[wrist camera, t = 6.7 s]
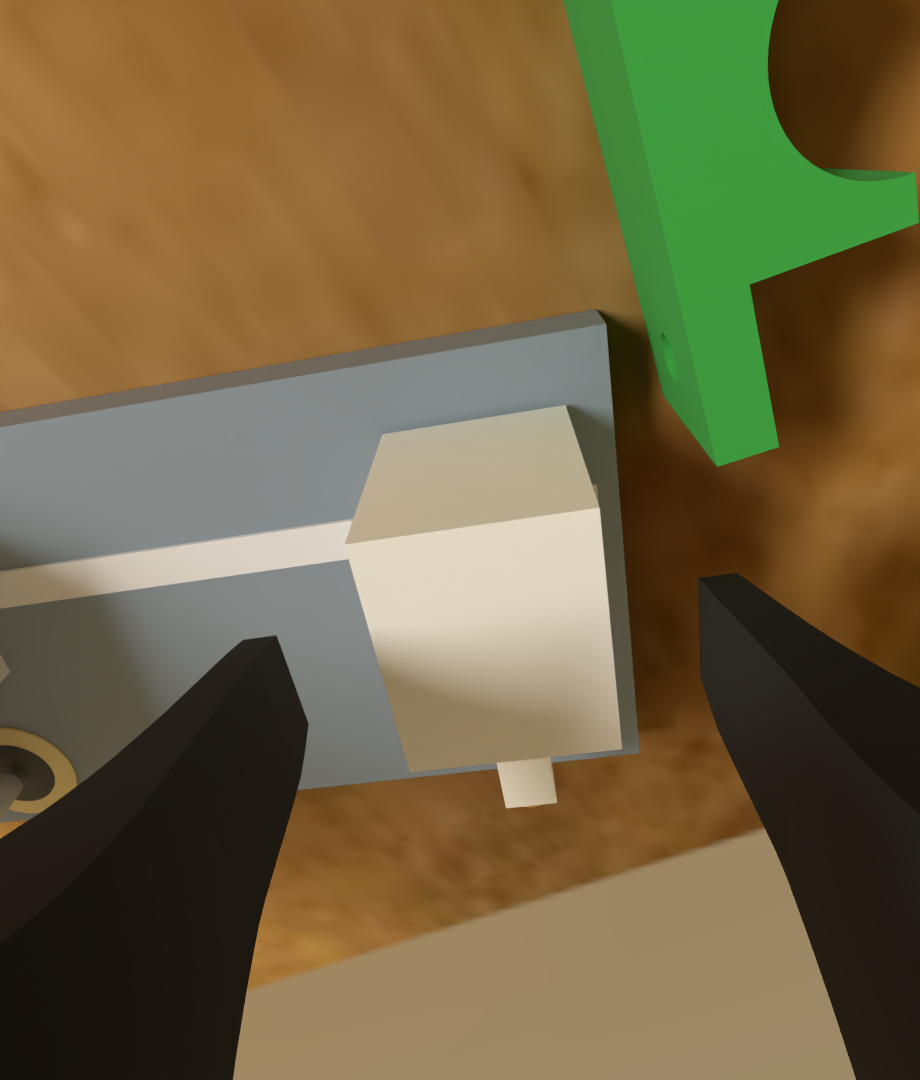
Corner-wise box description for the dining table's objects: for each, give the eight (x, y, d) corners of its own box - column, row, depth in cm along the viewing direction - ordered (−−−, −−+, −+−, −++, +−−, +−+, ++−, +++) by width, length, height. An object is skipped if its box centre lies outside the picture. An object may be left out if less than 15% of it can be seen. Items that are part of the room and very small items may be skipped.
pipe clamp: (822, 337, 16) (933, 401, 12) (660, 392, 17) (716, 469, 13) (730, -328, 11) (867, -582, 7) (507, -212, 12) (522, -385, 8)
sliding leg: (454, 736, 20) (446, 902, 15) (382, 434, 16) (344, 544, 11) (599, 719, 19) (634, 885, 15) (565, 405, 15) (599, 507, 11)
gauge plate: (16, 786, 24) (-138, 996, 18) (-204, 447, 18) (-533, 591, 12) (630, 716, 22) (685, 928, 16) (595, 309, 16) (662, 402, 10)
